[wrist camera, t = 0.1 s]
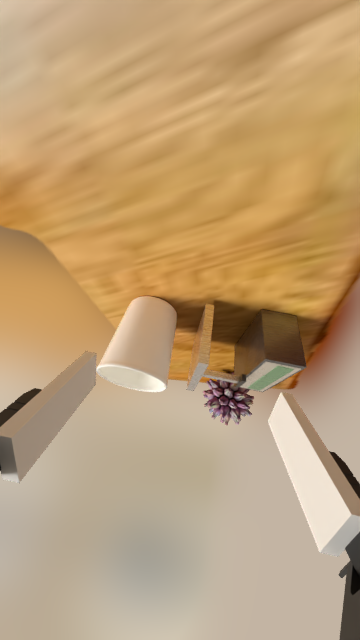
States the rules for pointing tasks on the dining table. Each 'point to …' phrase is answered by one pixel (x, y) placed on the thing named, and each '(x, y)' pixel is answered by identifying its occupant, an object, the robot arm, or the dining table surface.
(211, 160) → the dining table surface
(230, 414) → the flower
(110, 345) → the white cream cup
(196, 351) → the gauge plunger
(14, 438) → the robot arm
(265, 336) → the box
